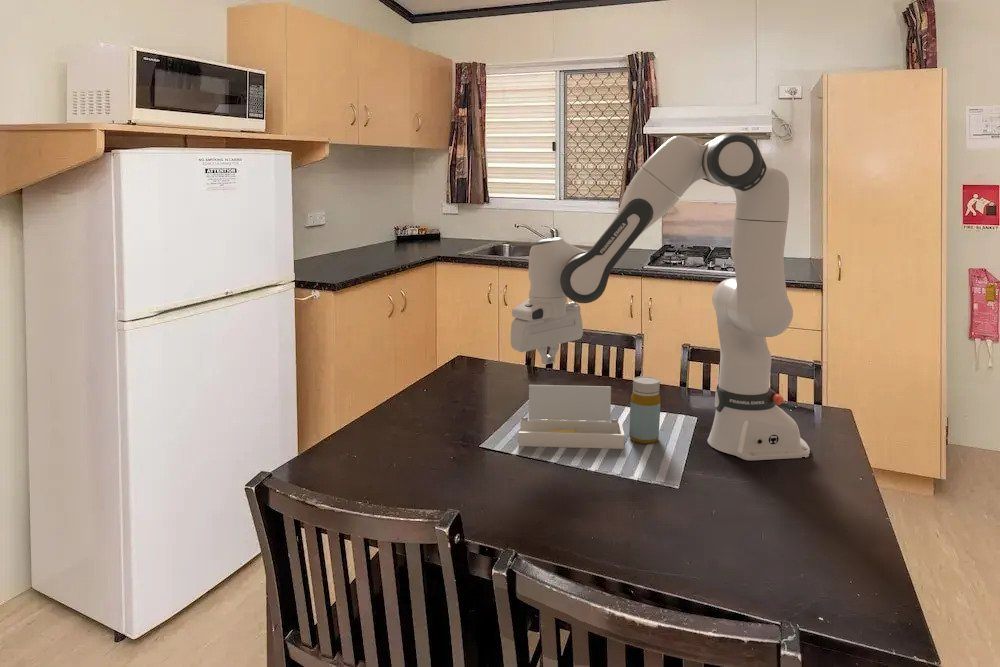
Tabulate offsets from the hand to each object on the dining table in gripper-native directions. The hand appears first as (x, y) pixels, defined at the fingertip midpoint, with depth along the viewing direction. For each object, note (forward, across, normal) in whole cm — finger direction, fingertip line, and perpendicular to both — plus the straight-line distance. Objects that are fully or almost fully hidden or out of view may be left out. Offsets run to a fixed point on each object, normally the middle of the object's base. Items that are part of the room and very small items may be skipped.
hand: (548, 363), depth 169 cm
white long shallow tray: (+18, -1, +6) cm, 19 cm away
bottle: (+19, -16, +17) cm, 30 cm away
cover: (+11, -4, +3) cm, 12 cm away
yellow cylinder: (+18, 0, +5) cm, 19 cm away
